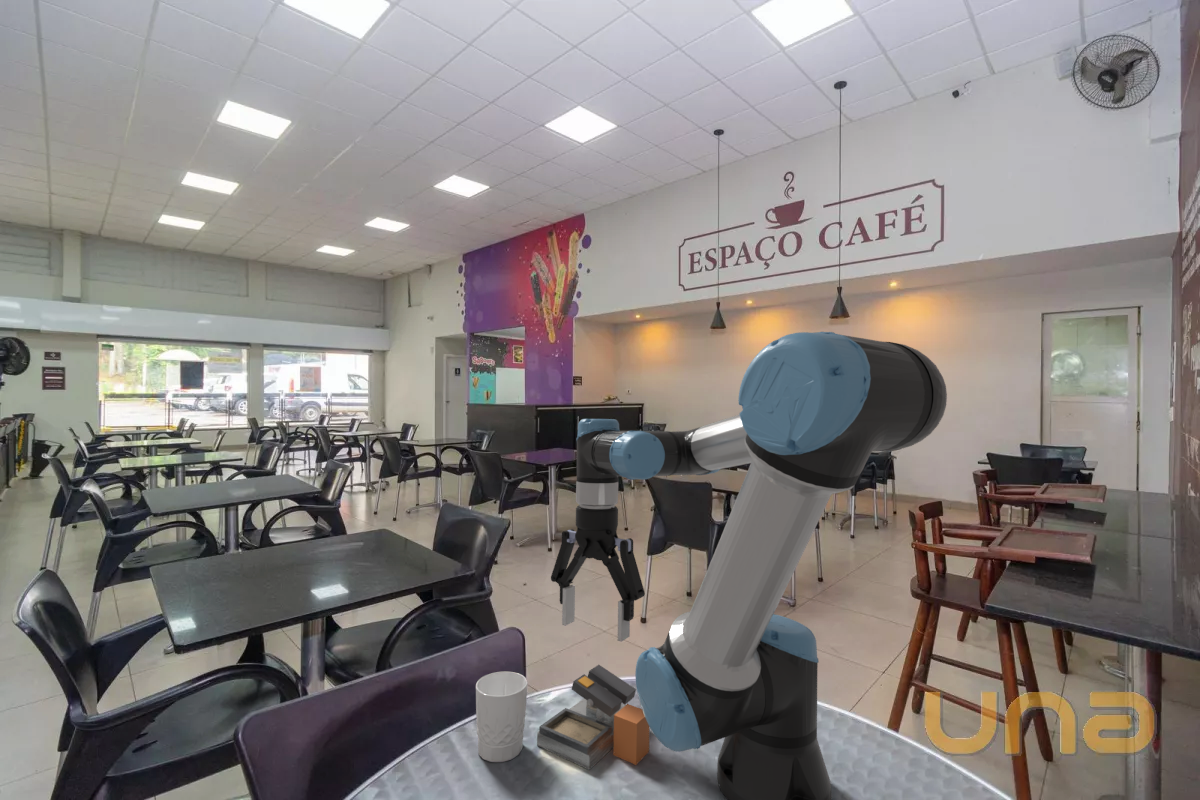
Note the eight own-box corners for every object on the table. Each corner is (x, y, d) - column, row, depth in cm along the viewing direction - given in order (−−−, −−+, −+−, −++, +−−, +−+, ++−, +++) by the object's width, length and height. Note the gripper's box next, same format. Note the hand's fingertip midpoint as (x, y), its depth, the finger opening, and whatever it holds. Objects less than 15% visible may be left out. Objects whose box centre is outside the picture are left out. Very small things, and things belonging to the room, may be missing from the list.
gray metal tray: (640, 722, 90) (640, 697, 90) (589, 769, 77) (589, 740, 78) (591, 704, 95) (592, 680, 96) (537, 745, 83) (537, 717, 83)
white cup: (515, 769, 77) (516, 699, 78) (465, 761, 79) (466, 692, 79) (532, 737, 85) (534, 674, 85) (486, 731, 87) (488, 668, 87)
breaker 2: (633, 699, 91) (636, 688, 90) (623, 708, 88) (626, 697, 88) (596, 674, 95) (599, 664, 95) (585, 682, 92) (588, 671, 92)
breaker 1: (619, 711, 87) (623, 698, 87) (608, 721, 84) (611, 707, 84) (581, 684, 91) (585, 672, 91) (569, 693, 89) (573, 680, 88)
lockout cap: (649, 751, 82) (649, 711, 82) (636, 765, 79) (636, 723, 79) (626, 742, 84) (627, 703, 85) (613, 755, 81) (614, 715, 81)
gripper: (666, 509, 91) (664, 639, 90) (558, 497, 104) (555, 610, 103) (644, 515, 85) (643, 655, 84) (532, 501, 98) (530, 622, 97)
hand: (594, 630), depth 93 cm, fingers open, 11 cm apart
